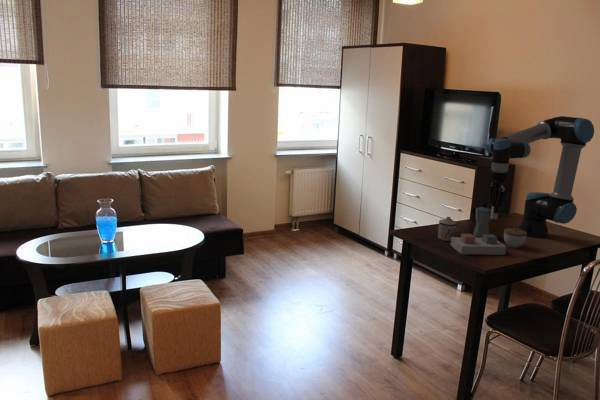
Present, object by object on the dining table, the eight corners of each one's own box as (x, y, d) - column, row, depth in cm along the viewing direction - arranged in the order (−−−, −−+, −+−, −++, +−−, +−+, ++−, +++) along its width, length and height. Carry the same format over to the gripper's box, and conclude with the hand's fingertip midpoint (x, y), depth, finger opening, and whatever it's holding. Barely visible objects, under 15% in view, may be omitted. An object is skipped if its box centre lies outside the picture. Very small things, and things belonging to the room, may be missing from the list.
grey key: (491, 242, 260) (492, 234, 259) (496, 246, 255) (497, 237, 254) (481, 242, 259) (482, 234, 258) (486, 245, 254) (487, 237, 253)
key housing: (492, 245, 265) (493, 237, 264) (505, 254, 251) (506, 246, 251) (450, 244, 263) (451, 237, 262) (461, 254, 249) (462, 246, 248)
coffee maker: (495, 238, 277) (500, 205, 273) (482, 239, 274) (486, 206, 270) (477, 230, 291) (481, 199, 287) (464, 231, 288) (467, 199, 284)
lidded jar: (522, 250, 259) (525, 232, 257) (500, 246, 264) (502, 228, 262) (526, 245, 268) (529, 227, 266) (504, 241, 273) (507, 223, 271)
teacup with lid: (445, 242, 267) (448, 220, 265) (433, 237, 275) (435, 215, 272) (463, 239, 273) (465, 218, 270) (450, 234, 281) (452, 213, 278)
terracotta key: (470, 242, 259) (471, 233, 258) (474, 245, 254) (475, 236, 253) (460, 242, 258) (461, 233, 257) (464, 245, 253) (465, 236, 252)
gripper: (485, 168, 256) (480, 215, 262) (498, 173, 244) (492, 222, 249) (500, 168, 257) (495, 215, 263) (513, 173, 245) (507, 222, 250)
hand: (493, 218), depth 256 cm, fingers closed
